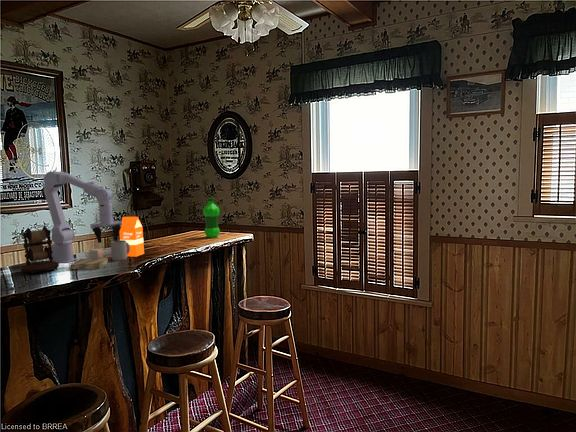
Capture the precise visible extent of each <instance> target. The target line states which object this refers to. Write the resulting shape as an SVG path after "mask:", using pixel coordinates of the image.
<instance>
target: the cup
mask: <svg viewBox="0 0 576 432" xmlns="http://www.w3.org/2000/svg"><path fill="white" fill-rule="evenodd" d="M126 247H127V249H126ZM129 252H130V245H129V244H128V243H127V242H126V241H125V240H120V239H117V241H114V240H111V241H110V254H111V256H110V257H111V260H112V261H116V262H117V261H125V260H127V259H128V256H127V255H128V254H129Z"/></svg>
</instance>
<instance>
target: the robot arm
mask: <svg viewBox="0 0 576 432" xmlns="http://www.w3.org/2000/svg"><path fill="white" fill-rule="evenodd" d="M42 179H43V182H44V183H43V194H44V197H45V200H46V203H47V207H48V210H49V213H50V217H51V219H52V220H51V221H52V224H53V226H52V228H51V229H50V231H51V240H52V244H51V247H52V249H51V250H52V251H53V253H52V257H53V260H52V261H55V262H57V263H59V264H61V263H64V264H65V263H70V262H73V261H78V258H76V257H75V258H74V250H73V240H74V238H75V235H76V234H75V232H74V230H73V229H72V227H71V225H70V224H69V223H67V221H66V218H65V214H64V211H63V210H64V209H63V208H62V204H61V201H60V200H61V199H60V197H59V194H58V192H59V190H60V189H61V188H62V187H63V186H64V185H65V184H70V185H72V186H74V187H77V188H80V189H82V190H83V192H84V193H85V194H86V195H89V196H91V197H93V198H95V199H96V200H97V203H98V211H99V223H91V224H90V229H91V230H92V232H93V233H94V234H95V237H96V240H97V243H99V244H102V228H110V227H111V229H112V234H113V241H117V240H118V239H119V238H118V237H119V235H120V233H119V231H120V229H121V225H122V220H121V221H120V220H119V221H114V220H113V219H114V218H113V205H112V199H113V198H114V192H113V190H111V189H110V188H108V187H105V188H104V186H103V185H101V186H100V185H98V184H95V182H94V181H88V182H86V181H84V180H81V179H80V178H77V177H76V176H74V175H72V174H70V173H68V172H66V171H62V170H61V171H60V170H59V171H48V172H46V173H45V174H44V176H43V178H42Z"/></svg>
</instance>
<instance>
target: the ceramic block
mask: <svg viewBox="0 0 576 432" xmlns="http://www.w3.org/2000/svg"><path fill="white" fill-rule="evenodd" d="M88 253H89V259H92V258H105V257H104V248H98V247H97V248H91V249H89V250H88Z"/></svg>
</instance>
